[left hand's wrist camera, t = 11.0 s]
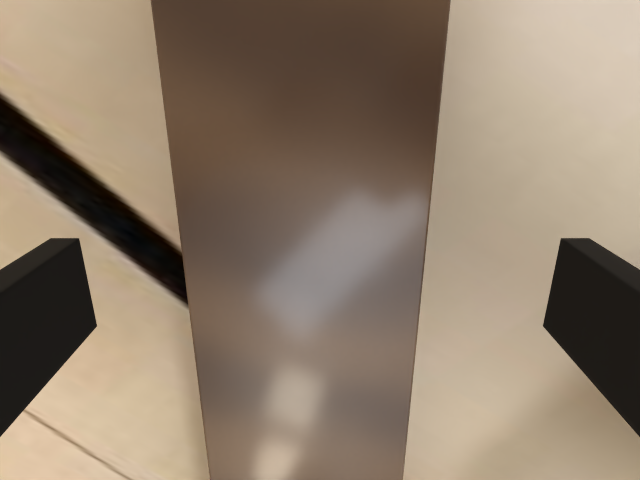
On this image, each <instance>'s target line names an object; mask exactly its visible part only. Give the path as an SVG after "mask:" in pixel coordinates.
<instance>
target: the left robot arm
mask: <svg viewBox="0 0 640 480" xmlns="http://www.w3.org/2000/svg"><path fill="white" fill-rule="evenodd" d="M96 327H97V324H96V319H95V314H94V309H93V304H92V300H91V295H90V290H89V285H88V280H87V275H86V270H85V265H84V260H83V256H82V251H81V246H80V241H79V238H51V239H49V240H47V241H46V242H44V243H43V244H41V245H39V246H38V247H36V248H35V249H33V250H31V251H30V252H28V253H27V254H25V255H23V256H22V257H20V258H19V259H17V260H15V261H14V262H12V263H10V264H9V265H7V266H6V267H4V268H2V269H1V270H0V437H1V435H2V434H3V433H4V432H5V431H6V430H7V429H8V427H9V426H10V425H11V424H12V423H13V422H14V421H15V419H16V418H17V417H18V416H19V415H20V414H21V412H22V411H23V410H24V409H25V408H26V407H27V406H28V404H29V403H30V402H31V401H32V400H33V399H34V398H35V396H36V395H37V394H38V393H39V392H40V391H41V390H42V388H43V387H44V386H45V385H46V384H47V383H48V382H49V380H50V379H51V378H52V377H53V376H54V375H55V374H56V372H57V371H58V370H59V369H60V368H61V367H62V366H63V364H64V363H65V362H66V361H67V360H68V359H69V358H70V356H71V355H72V354H73V353H74V352H75V351H76V350H77V348H78V347H79V346H80V345H81V344H82V343H83V341H84V340H85V339H86V338H87V337H88V336H89V335H90V333H91V332H92V331H93V330H94V329H95V328H96ZM543 327H544V328H545V329H546V330H547V331H548V332H549V333H550V335H551V336H552V337H553V338H554V339H555V340H556V341H557V343H558V344H559V345H560V346H561V347H562V348H563V350H564V351H565V352H566V353H567V354H568V355H569V356H570V358H571V359H572V360H573V361H574V362H575V363H576V364H577V366H578V367H579V368H580V369H581V370H582V371H583V372H584V374H585V375H586V376H587V377H588V378H589V379H590V380H591V382H592V383H593V384H594V385H595V386H596V387H597V388H598V390H599V391H600V392H601V393H602V394H603V395H604V396H605V398H606V399H607V400H608V401H609V402H610V403H611V404H612V406H613V407H614V408H615V409H616V410H617V411H618V412H619V414H620V415H621V416H622V417H623V418H624V419H625V421H626V422H627V423H628V424H629V425H630V426H631V427H632V429H633V430H634V431H635V432H636V433H637V434H638V435H639V437H640V270H639V269H638V268H636V267H634V266H633V265H631V264H630V263H628V262H626V261H625V260H623V259H621V258H620V257H618V256H617V255H615V254H613V253H612V252H610V251H609V250H607V249H605V248H604V247H602V246H601V245H599V244H597V243H596V242H594V241H593V240H591V239H589V238H561V241H560V246H559V251H558V256H557V260H556V265H555V270H554V275H553V280H552V285H551V290H550V295H549V300H548V304H547V309H546V314H545V319H544V324H543Z"/></svg>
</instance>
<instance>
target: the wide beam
mask: <svg viewBox="0 0 640 480" xmlns="http://www.w3.org/2000/svg"><path fill="white" fill-rule="evenodd" d="M450 1H451V0H151V5H152V13H153V21H154V29H155V38H156V46H157V54H158V62H159V70H160V78H161V86H162V94H163V102H164V110H165V118H166V126H167V134H168V142H169V151H170V159H171V167H172V175H173V183H174V191H175V199H176V207H177V215H178V223H179V231H180V239H181V247H182V255H183V264H184V272H185V280H186V288H187V296H188V304H189V312H190V320H191V328H192V336H193V344H194V352H195V360H196V368H197V376H198V385H199V393H200V401H201V409H202V417H203V425H204V433H205V441H206V449H207V457H208V465H209V473H210V480H403V472H404V462H405V452H406V442H407V432H408V422H409V412H410V402H411V392H412V382H413V372H414V362H415V352H416V342H417V332H418V322H419V312H420V302H421V292H422V282H423V272H424V262H425V252H426V242H427V232H428V221H429V211H430V201H431V191H432V181H433V171H434V161H435V151H436V141H437V131H438V121H439V111H440V101H441V91H442V81H443V71H444V61H445V51H446V41H447V31H448V21H449V11H450Z"/></svg>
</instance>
